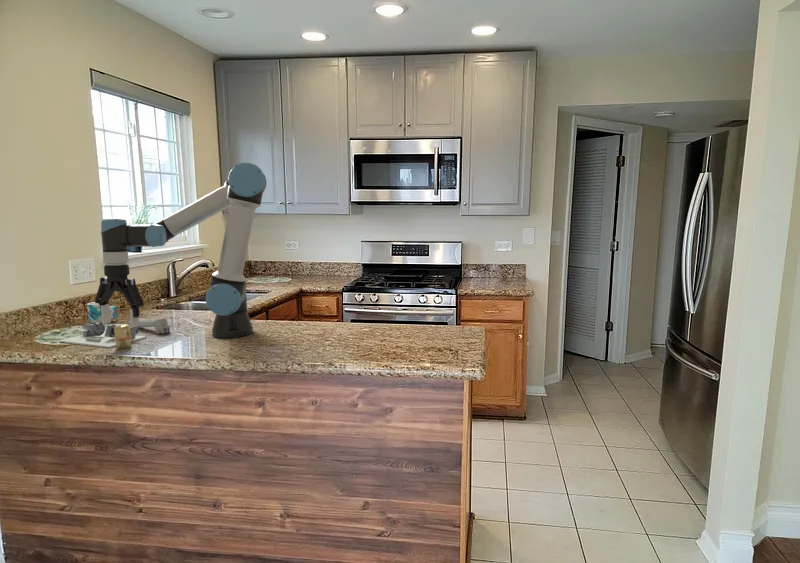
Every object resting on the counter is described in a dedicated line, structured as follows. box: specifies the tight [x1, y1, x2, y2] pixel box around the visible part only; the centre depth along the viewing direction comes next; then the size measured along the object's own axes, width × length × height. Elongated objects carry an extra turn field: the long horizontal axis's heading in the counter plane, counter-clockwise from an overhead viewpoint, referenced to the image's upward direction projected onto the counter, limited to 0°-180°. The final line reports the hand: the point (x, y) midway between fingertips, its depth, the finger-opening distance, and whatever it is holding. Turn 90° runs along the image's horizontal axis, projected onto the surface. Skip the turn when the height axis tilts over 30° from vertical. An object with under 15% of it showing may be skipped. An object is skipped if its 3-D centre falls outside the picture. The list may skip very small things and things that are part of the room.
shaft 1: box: [82, 322, 106, 337], centre depth 188 cm, size 10×5×5 cm, turn 54°
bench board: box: [58, 331, 147, 349], centre depth 183 cm, size 26×15×2 cm, turn 69°
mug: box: [86, 301, 118, 324], centre depth 217 cm, size 8×12×8 cm
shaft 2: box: [105, 323, 139, 339], centre depth 182 cm, size 10×5×5 cm, turn 84°
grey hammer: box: [126, 317, 171, 335], centre depth 198 cm, size 5×7×25 cm
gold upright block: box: [114, 324, 133, 351], centre depth 171 cm, size 5×5×8 cm
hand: (120, 325), depth 170 cm, fingers open, 13 cm apart
